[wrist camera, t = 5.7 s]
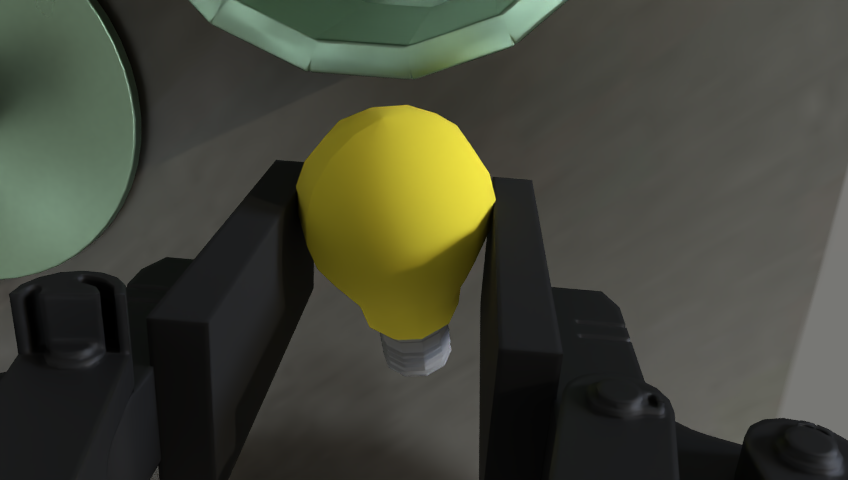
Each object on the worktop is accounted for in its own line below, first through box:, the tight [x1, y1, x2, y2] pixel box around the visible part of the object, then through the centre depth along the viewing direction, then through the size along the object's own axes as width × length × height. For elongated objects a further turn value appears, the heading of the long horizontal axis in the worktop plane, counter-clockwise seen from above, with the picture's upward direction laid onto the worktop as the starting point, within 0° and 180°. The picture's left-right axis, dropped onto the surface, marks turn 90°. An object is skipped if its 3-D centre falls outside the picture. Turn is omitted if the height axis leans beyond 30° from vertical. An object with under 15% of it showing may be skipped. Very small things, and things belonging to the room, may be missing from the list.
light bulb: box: [296, 105, 496, 376], centre depth 15 cm, size 3×6×4 cm, turn 5°
